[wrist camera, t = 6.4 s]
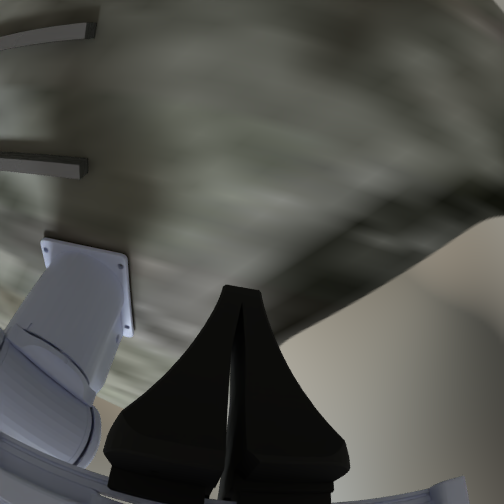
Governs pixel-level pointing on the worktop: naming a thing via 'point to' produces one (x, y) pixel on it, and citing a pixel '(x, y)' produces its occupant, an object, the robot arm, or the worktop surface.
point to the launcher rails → (40, 162)
